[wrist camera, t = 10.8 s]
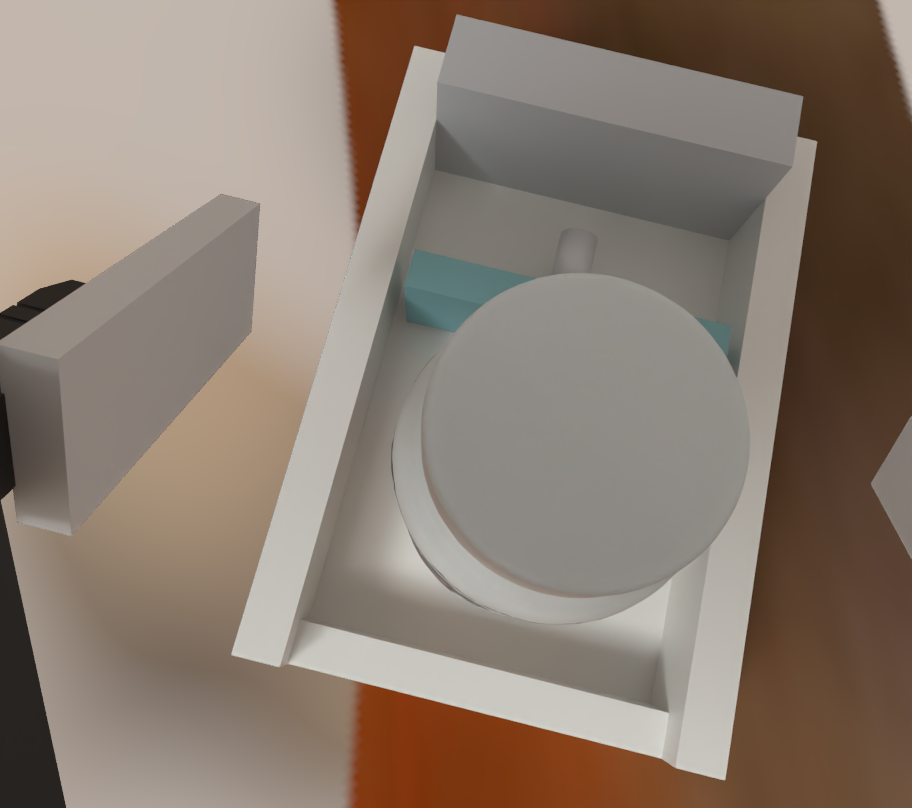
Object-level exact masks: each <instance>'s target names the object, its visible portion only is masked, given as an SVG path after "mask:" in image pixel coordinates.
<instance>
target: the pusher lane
mask: <svg viewBox="0 0 912 808" xmlns="http://www.w3.org/2000/svg"><path fill="white" fill-rule="evenodd" d="M802 102H803V96H800V95H795V94H791V93H787V92H783V91H779V90H774V89H770V88H766V87H762V86H757V85H753V84H749V83H745V82H740V81H736V80H732V79H728V78H723V77H719V76H715V75H711V74H707V73H702V72H698V71H694V70H690V69H685V68H681V67H677V66H673V65H668V64H664V63H660V62H656V61H652V60H647V59H643V58H639V57H635V56H630V55H626V54H622V53H618V52H613V51H609V50H605V49H601V48H597V47H592V46H588V45H584V44H580V43H575V42H571V41H567V40H563V39H558V38H554V37H550V36H546V35H542V34H537V33H533V32H529V31H525V30H520V29H516V28H512V27H508V26H503V25H499V24H495V23H491V22H487V21H482V20H478V19H474V18H470V17H465V16H461V15H456V19H455V22H454V26H453V29H452V33H451V36H450V39H449V43H448V46H447V50H446V53H443V52H439V51H435V50H430V49H426V48H422V47H418V46H414V49H413V52H412V56H411V59H410V62H409V66H408V69H407V72H406V76H405V79H404V82H403V86H402V89H401V92H400V96H399V99H398V102H397V106H396V109H395V112H394V116H393V119H392V122H391V125H390V129H389V132H388V135H387V139H386V142H385V145H384V149H383V152H382V155H381V159H380V162H379V165H378V169H377V172H376V175H375V179H374V182H373V185H372V189H371V192H370V195H369V199H368V202H367V205H366V209H365V212H364V215H363V218H362V222H361V225H360V228H359V232H358V235H357V238H356V242H355V245H354V248H353V252H352V255H351V258H350V262H349V265H348V268H347V272H346V275H345V278H344V282H343V285H342V288H341V292H340V295H339V299H338V302H337V305H336V308H335V312H334V315H333V318H332V321H331V325H330V328H329V331H328V335H327V338H326V341H325V345H324V348H323V351H322V355H321V358H320V361H319V365H318V368H317V371H316V375H315V378H314V381H313V385H312V388H311V392H310V395H309V398H308V401H307V404H306V408H305V411H304V414H303V418H302V421H301V425H300V428H299V431H298V434H297V438H296V441H295V444H294V448H293V451H292V454H291V458H290V461H289V464H288V468H287V471H286V475H285V478H284V481H283V484H282V488H281V491H280V494H279V497H278V501H277V504H276V508H275V511H274V514H273V518H272V521H271V524H270V527H269V531H268V534H267V537H266V542H265V544H264V547H263V551H262V554H261V557H260V561H259V564H258V567H257V571H256V574H255V577H254V581H253V584H252V587H251V590H250V594H249V597H248V600H247V604H246V607H245V611H244V614H243V617H242V621H241V624H240V627H239V631H238V634H237V637H236V641H235V644H234V647H233V650H232V654H231V655H233V656H237V657H241V658H245V659H249V660H253V661H257V662H261V663H265V664H269V665H272V666H277V667H282V666H284V665H285V664H291V665H295V666H300V667H303V668H307V669H311V670H315V671H319V672H323V673H327V674H331V675H335V676H339V677H343V678H347V679H350V680H354V681H358V682H362V683H366V684H370V685H374V686H378V687H382V688H386V689H390V690H394V691H398V692H401V693H405V694H409V695H413V696H417V697H421V698H425V699H429V700H433V701H437V702H441V703H445V704H449V705H453V706H457V707H461V708H464V709H468V710H472V711H476V712H480V713H484V714H488V715H492V716H496V717H500V718H504V719H508V720H512V721H516V722H520V723H524V724H527V725H531V726H535V727H539V728H543V729H547V730H551V731H555V732H559V733H563V734H567V735H571V736H575V737H579V738H583V739H586V740H590V741H594V742H598V743H602V744H606V745H610V746H614V747H618V748H622V749H626V750H630V751H634V752H638V753H642V754H646V755H649V756H653V757H657V758H661V759H663V760H664V761H666V762H667V763H669V764H670V765H672V766H673V767H675V768H678V769H682V770H685V771H689V772H693V773H697V774H701V775H705V776H709V777H713V778H717V779H721V780H725V778H726V771H727V764H728V757H729V750H730V743H731V736H732V729H733V723H734V716H735V709H736V702H737V695H738V688H739V681H740V674H741V667H742V660H743V653H744V646H745V639H746V632H747V625H748V618H749V611H750V605H751V598H752V591H753V584H754V577H755V570H756V563H757V556H758V549H759V542H760V535H761V528H762V521H763V514H764V507H765V500H766V493H767V487H768V480H769V473H770V466H771V459H772V452H773V445H774V438H775V431H776V424H777V417H778V410H779V403H780V396H781V389H782V382H783V375H784V369H785V362H786V355H787V348H788V341H789V334H790V327H791V320H792V313H793V306H794V299H795V292H796V285H797V278H798V271H799V264H800V257H801V251H802V244H803V237H804V230H805V223H806V216H807V209H808V202H809V195H810V188H811V181H812V174H813V167H814V160H815V153H816V146H817V141H814V140H810V139H805V138H801V137H797V135H798V128H799V122H800V115H801V108H802ZM569 228H579V229H584V230H587V231H589V232H591V233H593V234H594V235H595V236H596V237H597V239H598V241H597V246H596V250H595V255H594V260H593V264H592V269H591V273H593V274H604V275H609V276H614V277H618V278H622V279H625V280H628V281H631V282H634V283H637V284H640V285H642V286H645V287H647V288H649V289H652V290H654V291H656V292H658V293H660V294H662V295H663V296H665V297H667V298H668V299H670V300H671V301H673V302H675V303H676V304H678V305H679V306H681V307H682V308H683V309H685V310H686V311H687V312H688V313H689V314H691V315H692V316H693V317H697V318H701V319H705V320H709V321H713V322H718V323H722V324H726V325H730V326H732V328H731V334H730V340H729V346H728V352H727V359H728V361H729V363H730V365H731V367H732V369H733V371H734V373H735V375H736V377H737V379H738V382H739V384H740V387H741V390H742V393H743V396H744V400H745V404H746V408H747V413H748V420H749V427H750V452H749V463H748V469H747V474H746V478H745V482H744V486H743V489H742V491H741V494H740V497H739V500H738V502H737V504H736V507H735V509H734V511H733V513H732V515H731V516H730V518H729V520H728V522H727V523H726V525H725V526H724V528H723V529H722V531H721V532H720V534H719V535H718V537H717V538H716V539H715V540H714V541H713V542H712V544H711V545H710V546H709V547H708V548H707V549H706V550H705V551H704V552H703V553H702V554H701V555H700V556H699V557H697V558H696V559H695V560H694V561H692V562H691V563H690V564H688V565H687V566H686V567H684V568H683V569H681V570H680V571H678V572H677V573H676V574H675V575H674V576H673V577H672V578H671V579H670V580H669V581H668V582H667V583H666V584H665V585H664V586H662V587H661V588H660V589H659V590H657V591H656V592H655V593H653V594H652V595H651V596H649V597H648V598H646V599H644V600H643V601H641V602H639V603H638V604H636V605H634V606H632V607H630V608H628V609H627V610H625V611H622V612H620V613H617V614H615V615H612V616H610V617H607V618H603V619H600V620H596V621H592V622H586V623H579V624H562V625H555V624H540V623H532V622H528V621H524V620H520V619H516V618H513V617H508V616H503V615H500V614H497V613H495V612H492V611H488V610H486V609H483V608H480V607H477V606H474V605H472V604H471V603H469V602H467V601H465V600H463V599H462V598H460V597H458V596H457V595H455V594H454V593H453V592H451V591H450V590H449V589H448V588H446V587H445V586H444V585H443V584H442V583H441V582H440V581H439V580H438V579H437V578H436V577H435V576H434V575H433V573H432V572H431V571H430V570H429V568H428V567H427V566H426V565H425V563H424V562H423V560H422V559H421V558H420V556H419V554H418V552H417V550H416V548H415V546H414V544H413V542H412V540H411V537H410V535H409V532H408V529H407V526H406V524H405V521H404V519H403V517H402V514H401V512H400V508H399V505H398V501H397V497H396V494H395V490H394V481H393V477H392V471H391V450H392V442H393V438H394V433H395V426H396V423H397V421H398V418H399V415H400V411H401V409H402V407H403V404H404V402H405V399H406V397H407V395H408V393H409V391H410V389H411V387H412V385H413V384H414V382H415V380H416V379H417V377H418V376H419V374H420V373H421V371H422V370H423V369H424V367H425V366H426V365H427V363H428V362H429V361H430V359H431V358H432V357H433V356H435V355H436V354H437V353H438V352H439V351H440V350H441V349H442V348H443V347H444V346H446V344H447V342H448V341H449V339H450V338H451V336H452V335H453V334H454V332H450V331H446V330H441V329H437V328H433V327H429V326H425V325H421V324H417V323H413V322H409V321H407V318H406V302H405V282H406V278H407V275H408V271H409V268H410V264H411V261H412V257H413V253H414V250H415V249H417V250H421V251H425V252H429V253H433V254H437V255H441V256H446V257H450V258H454V259H458V260H462V261H466V262H470V263H474V264H478V265H483V266H487V267H491V268H495V269H499V270H503V271H507V272H511V273H516V274H520V275H524V276H528V277H532V278H536V279H537V278H541V277H546V276H551V274H552V269H553V265H554V261H555V256H556V252H557V248H558V243H559V239H560V234H561V232H562V231H563V230H565V229H569Z"/></svg>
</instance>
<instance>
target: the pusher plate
mask: <svg viewBox="0 0 912 808" xmlns="http://www.w3.org/2000/svg"><path fill="white" fill-rule="evenodd" d="M597 241H598V239H597V237H596V236H595V235H594V234H593V233H591V232H589V231H587V230H584V229H579V228H569V229H565V230H563V231H562V232H561V234H560V239H559V243H558V248H557V252H556V256H555V261H554V265H553V269H552V274H551V275H557V274H565V273H591V269H592V264H593V260H594V255H595V250H596V246H597ZM534 279H536V278H532V277H528V276H524V275H520V274H516V273H511V272H507V271H503V270H499V269H495V268H491V267H487V266H483V265H478V264H474V263H470V262H466V261H462V260H458V259H454V258H450V257H446V256H441V255H437V254H433V253H429V252H425V251H421V250H417V249H415V250H414V253H413V257H412V261H411V264H410V268H409V271H408V275H407V278H406V282H405V302H406V318H407V321H409V322H413V323H417V324H421V325H425V326H429V327H433V328H437V329H441V330H446V331H450V332H455V331H456V330H457V329H458V328H459V327H460V326H461V324H462V323H463V322H464V321H465V320H466V319H467V318H468V317H469V316H470V315H471V314H473V313H474V312H475V311H476V310H477V309H478V308H480V307H481V306H482V305H483V304H485V303H486V302H487V301H489V300H490V299H492V298H494V297H495V296H497V295H498V294H500V293H502V292H504V291H506V290H508V289H510V288H512V287H515V286H517V285H519V284H522V283H525V282H528V281H531V280H534ZM694 318H695V319H696V320H697V321H698V322H699V323H700V324H701V325H702V326H703V327H704V328H705V329H706V330H707V331H708V333H709V334H710V335H711V336H712V337H713V339H714V340H715V341H716V343H717V344H718V345H719V347H720V348H721V349H722V351H723V352H724V354H725V356H726V358H727V352H728V346H729V340H730V334H731V328H732V326H730V325H726V324H722V323H718V322H713V321H709V320H705V319H701V318H697V317H694Z"/></svg>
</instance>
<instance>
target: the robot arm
mask: <svg viewBox="0 0 912 808" xmlns="http://www.w3.org/2000/svg"><path fill="white" fill-rule="evenodd" d="M259 211H260V203H256V202H252V201H248V200H244V199H240V198H236V197H232V196H228V195H223V194H220V195H219V196H217V197H216V198H214V199H213V200H211V201H210V202H208V203H207V204H205V205H204V206H202V207H201V208H199V209H198V210H196V211H195V212H193V213H191V214H190V215H188V216H187V217H185V218H184V219H182V220H181V221H179V222H178V223H176V224H175V225H173V226H172V227H170V228H169V229H167V230H166V231H164V232H163V233H161V234H160V235H158V236H157V237H155V238H154V239H152V240H151V241H149V242H148V243H146V244H145V245H143V246H142V247H140V248H139V249H137V250H136V251H134V252H133V253H131V254H130V255H128V256H127V257H125V258H124V259H122V260H121V261H119V262H118V263H116V264H115V265H113V266H112V267H110V268H108V269H107V270H105V271H104V272H102V273H101V274H99V275H98V276H97V277H95V278H93V279H92V280H90V281H89V282H88V283H82V282H79V281H74V280H69V281H66V282H62V283H58V284H55V285H51V286H48V287H44V288H40V289H38V290H37V291H35V292H34V293H32V294H30V295H29V296H27V297H25V298H24V299H22V300H21V301H19V302H17V306H14V305H12V306H11V307H9V308H8V309H6V310H4V311H3V312H1V313H0V808H66V805H65V801H64V796H63V791H62V786H61V781H60V777H59V772H58V768H57V763H56V759H55V753H54V749H53V744H52V739H51V735H50V730H49V726H48V721H47V716H46V711H45V706H44V702H43V697H42V692H41V688H40V683H39V678H38V674H37V669H36V664H35V660H34V655H33V650H32V646H31V641H30V636H29V632H28V627H27V623H26V617H25V613H24V608H23V603H22V599H21V594H20V589H19V585H18V580H17V575H16V571H15V566H14V561H13V557H12V552H11V547H10V543H9V538H8V533H7V528H6V524H5V519H4V514H3V510H2V505H1V499H2V498H4V497H5V496H6V495H7V494H8V493H9V492H10V491H11V490H12V489H13V492H14V500H15V509H16V517H17V522H18V523H22V524H25V525H30V526H33V527H37V528H42V529H45V530H49V531H53V532H57V533H61V534H65V535H69V536H72V535H73V534H74V533H75V532H76V531H77V530H78V528H79V527H80V526H81V525H82V524H83V523H84V521H85V520H86V519H87V518H88V517H89V516H90V515H91V513H92V512H93V511H94V510H95V509H96V508H97V507H98V506H99V505H100V503H101V502H102V501H103V500H104V499H105V498H106V497H107V495H108V494H109V493H110V492H111V491H112V490H113V489H114V487H115V486H116V485H117V484H118V483H119V482H120V481H121V479H122V478H123V477H124V476H125V475H126V474H127V473H128V471H129V470H130V469H131V468H132V467H133V466H134V465H135V464H136V462H137V461H138V460H139V459H140V458H141V457H142V456H143V454H144V453H145V452H146V451H147V450H148V449H149V448H150V446H151V445H152V444H153V443H154V442H155V441H156V440H157V438H158V437H159V436H160V435H161V434H162V433H163V432H164V430H165V429H166V428H167V427H168V426H169V425H170V424H171V423H172V421H173V420H174V419H175V418H176V417H177V416H178V415H179V413H180V412H181V411H182V410H183V409H184V408H185V406H186V405H187V404H188V403H189V402H190V401H191V400H192V399H193V397H194V396H195V395H196V394H197V393H198V392H199V391H200V389H201V388H202V387H203V386H204V385H205V384H206V382H207V381H208V380H209V379H210V378H211V377H212V376H213V375H214V374H215V372H216V371H217V370H218V369H219V368H220V367H221V366H222V364H223V363H224V362H225V361H226V360H227V358H228V357H229V356H230V355H231V354H232V353H233V352H234V351H235V350H236V348H237V347H238V346H239V345H240V344H241V343H242V342H243V340H244V339H245V338H246V337H247V336H248V335H249V333H251V328H252V312H253V298H254V284H255V269H256V254H257V240H258V225H259V224H258V223H259ZM871 486H872V487H873V489H874V491H875V493H876V495H877V497H878V499H879V500H880V502H881V504H882V506H883V508H884V510H885V511H886V513H887V515H888V517H889V519H890V521H891V522H892V524H893V526H894V528H895V530H896V532H897V533H898V535H899V537H900V539H901V541H902V543H903V544H904V546H905V548H906V550H907V552H908V554H909V555H910V557H911V559H912V415H911V417H910V419H909V420H908V422H907V424H906V425H905V427H904V429H903V430H902V432H901V434H900V435H899V437H898V439H897V440H896V442H895V444H894V445H893V447H892V449H891V450H890V452H889V454H888V455H887V457H886V459H885V460H884V462H883V464H882V465H881V467H880V469H879V470H878V472H877V474H876V475H875V477H874V479H873V480H872V482H871Z"/></svg>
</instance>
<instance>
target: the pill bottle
mask: <svg viewBox="0 0 912 808" xmlns="http://www.w3.org/2000/svg"><path fill="white" fill-rule="evenodd" d="M749 452H750V427H749V420H748V413H747V408H746V404H745V400H744V396H743V393H742V390H741V387H740V384H739V382H738V379H737V377H736V375H735V373H734V371H733V369H732V367H731V365H730V363H729V361H728V359H727V358H726V356H725V354H724V352H723V351H722V349H721V348H720V347H719V345H718V344H717V343H716V341H715V340H714V339H713V337H712V336H711V335H710V334H709V333H708V331H707V330H706V329H705V328H704V327H703V326H702V325H701V324H700V323H699V322H698V321H697V320H696V319H695V318H694V317H693V316H692V315H691V314H689V313H688V312H687V311H686V310H685V309H683V308H682V307H681V306H679V305H678V304H676V303H675V302H673V301H671V300H670V299H668V298H667V297H665V296H663V295H662V294H660V293H658V292H656V291H654V290H652V289H649V288H647V287H645V286H642V285H640V284H637V283H634V282H631V281H628V280H625V279H622V278H618V277H614V276H609V275H604V274H593V273H565V274H557V275H551V276H546V277H541V278H537V279H534V280H531V281H528V282H525V283H522V284H519V285H517V286H515V287H512V288H510V289H508V290H506V291H504V292H502V293H500V294H498V295H497V296H495V297H494V298H492V299H490V300H489V301H487V302H486V303H485V304H483V305H482V306H481V307H480V308H478V309H477V310H476V311H475V312H474V313H473V314H471V315H470V316H469V317H468V318H467V319H466V320H465V321H464V322H463V323H462V324H461V326H460V327H459V328H458V329H457V330H456V331H455V332H454V334H453V335H452V336H451V338H450V339H449V341H448V342H447V344H446V346H444V347H443V348H442V349H441V350H440V351H439V352H438V353H437V354H436V355H435V356H433V357H432V358H431V359H430V361H429V362H428V363H427V365H426V366H425V367H424V369H423V370H422V371H421V373H420V374H419V376H418V377H417V379H416V380H415V382H414V384H413V385H412V387H411V389H410V391H409V393H408V395H407V397H406V399H405V402H404V404H403V407H402V409H401V411H400V415H399V418H398V421H397V423H396V426H395V433H394V438H393V442H392V450H391V471H392V477H393V481H394V490H395V494H396V497H397V501H398V505H399V508H400V512H401V514H402V517H403V519H404V521H405V524H406V526H407V529H408V532H409V535H410V537H411V540H412V542H413V544H414V546H415V548H416V550H417V552H418V554H419V556H420V558H421V559H422V560H423V562H424V563H425V565H426V566H427V567H428V568H429V570H430V571H431V572H432V573H433V575H434V576H435V577H436V578H437V579H438V580H439V581H440V582H441V583H442V584H443V585H444V586H445V587H446V588H448V589H449V590H450V591H451V592H453V593H454V594H455V595H457V596H458V597H460V598H462V599H463V600H465V601H467V602H469V603H471V604H472V605H474V606H477V607H480V608H483V609H486V610H488V611H492V612H495V613H497V614H500V615H503V616H508V617H513V618H516V619H520V620H524V621H528V622H532V623H540V624H555V625H562V624H579V623H586V622H592V621H596V620H600V619H603V618H607V617H610V616H612V615H615V614H617V613H620V612H622V611H625V610H627V609H628V608H630V607H632V606H634V605H636V604H638V603H639V602H641V601H643V600H644V599H646V598H648V597H649V596H651V595H652V594H653V593H655V592H656V591H657V590H659V589H660V588H661V587H662V586H664V585H665V584H666V583H667V582H668V581H669V580H670V579H671V578H672V577H673V576H674V575H675V574H676V573H677V572H678V571H680V570H681V569H683V568H684V567H686V566H687V565H688V564H690V563H691V562H692V561H694V560H695V559H696V558H697V557H699V556H700V555H701V554H702V553H703V552H704V551H705V550H706V549H707V548H708V547H709V546H710V545H711V544H712V542H713V541H714V540H715V539H716V538H717V537H718V535H719V534H720V532H721V531H722V529H723V528H724V526H725V525H726V523H727V522H728V520H729V518H730V516H731V515H732V513H733V511H734V509H735V507H736V504H737V502H738V500H739V497H740V494H741V491H742V489H743V486H744V482H745V478H746V474H747V469H748V463H749Z"/></svg>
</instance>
